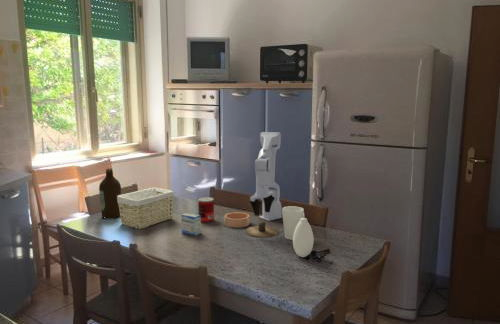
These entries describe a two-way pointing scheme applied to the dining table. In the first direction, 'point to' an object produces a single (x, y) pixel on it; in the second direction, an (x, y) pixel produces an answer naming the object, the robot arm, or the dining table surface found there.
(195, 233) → the medicine box
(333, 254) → the dining table surface
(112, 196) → the olive oil
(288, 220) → the foam cup
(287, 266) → the dining table surface
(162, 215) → the storage basket
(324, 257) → the dining table surface
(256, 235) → the lid
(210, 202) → the canned food
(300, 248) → the sauce bottle
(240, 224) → the bowl
